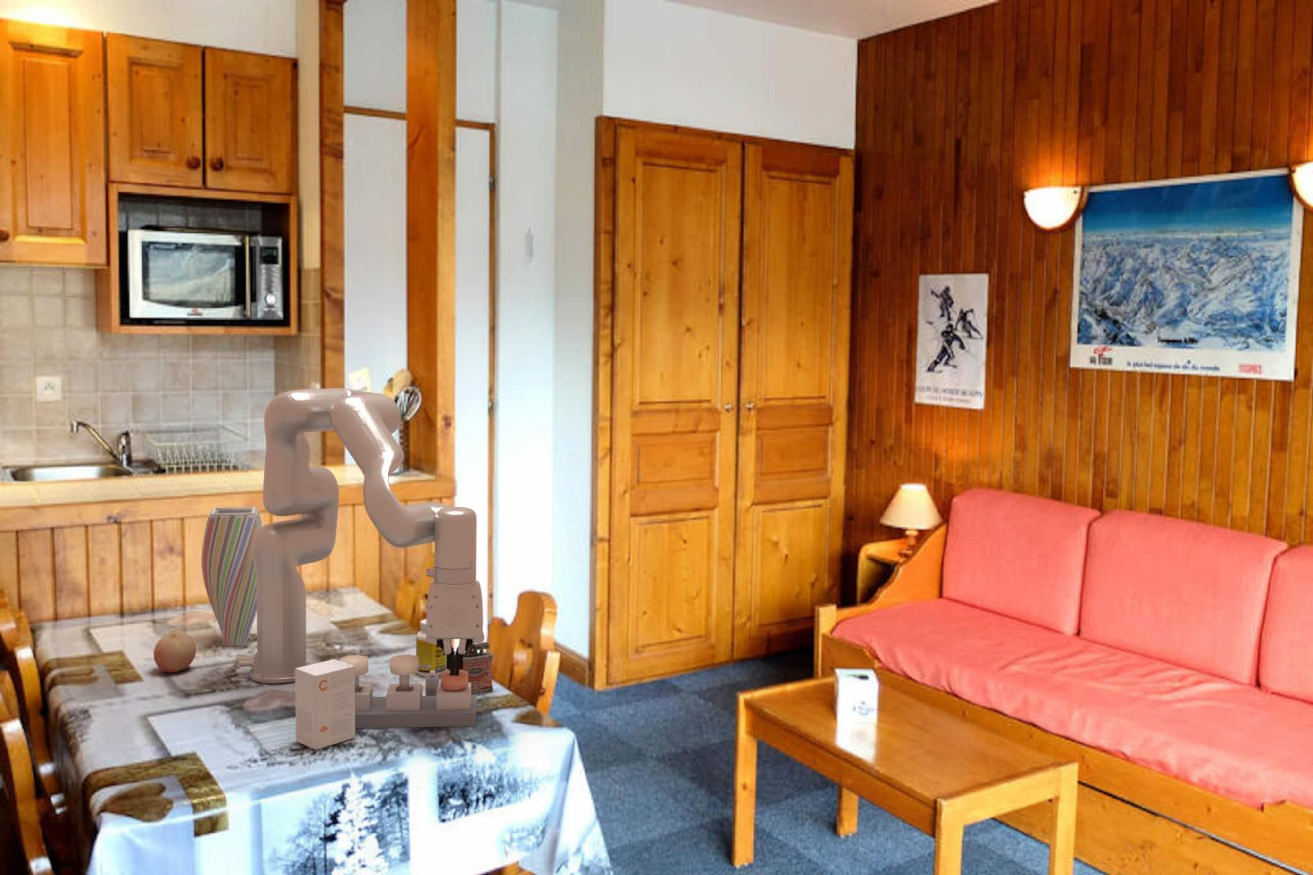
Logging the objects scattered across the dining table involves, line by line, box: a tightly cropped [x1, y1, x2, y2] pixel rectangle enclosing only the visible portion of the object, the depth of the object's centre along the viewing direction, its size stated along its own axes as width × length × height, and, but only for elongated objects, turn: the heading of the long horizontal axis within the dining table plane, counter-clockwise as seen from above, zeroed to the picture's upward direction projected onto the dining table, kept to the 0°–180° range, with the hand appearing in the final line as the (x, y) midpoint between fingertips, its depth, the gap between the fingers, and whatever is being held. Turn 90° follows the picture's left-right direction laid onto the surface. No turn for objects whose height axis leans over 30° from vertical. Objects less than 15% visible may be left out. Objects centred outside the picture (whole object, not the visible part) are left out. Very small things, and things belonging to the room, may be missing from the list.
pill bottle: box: [415, 618, 446, 678], centre depth 236 cm, size 6×6×11 cm
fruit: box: [153, 630, 197, 674], centre depth 234 cm, size 8×8×8 cm
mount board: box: [355, 682, 478, 729], centre depth 209 cm, size 26×10×6 cm, turn 97°
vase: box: [200, 506, 263, 647], centre depth 254 cm, size 14×14×30 cm
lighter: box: [463, 641, 494, 696], centre depth 225 cm, size 8×3×10 cm, turn 117°
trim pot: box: [424, 670, 440, 696], centre depth 218 cm, size 3×3×6 cm
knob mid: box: [389, 654, 418, 689], centre depth 209 cm, size 5×5×5 cm
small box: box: [294, 658, 356, 751], centre depth 197 cm, size 8×6×13 cm
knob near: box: [339, 654, 369, 689], centre depth 207 cm, size 5×5×5 cm
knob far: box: [439, 670, 468, 691], centre depth 210 cm, size 5×5×5 cm
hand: (454, 673), depth 210 cm, fingers closed
